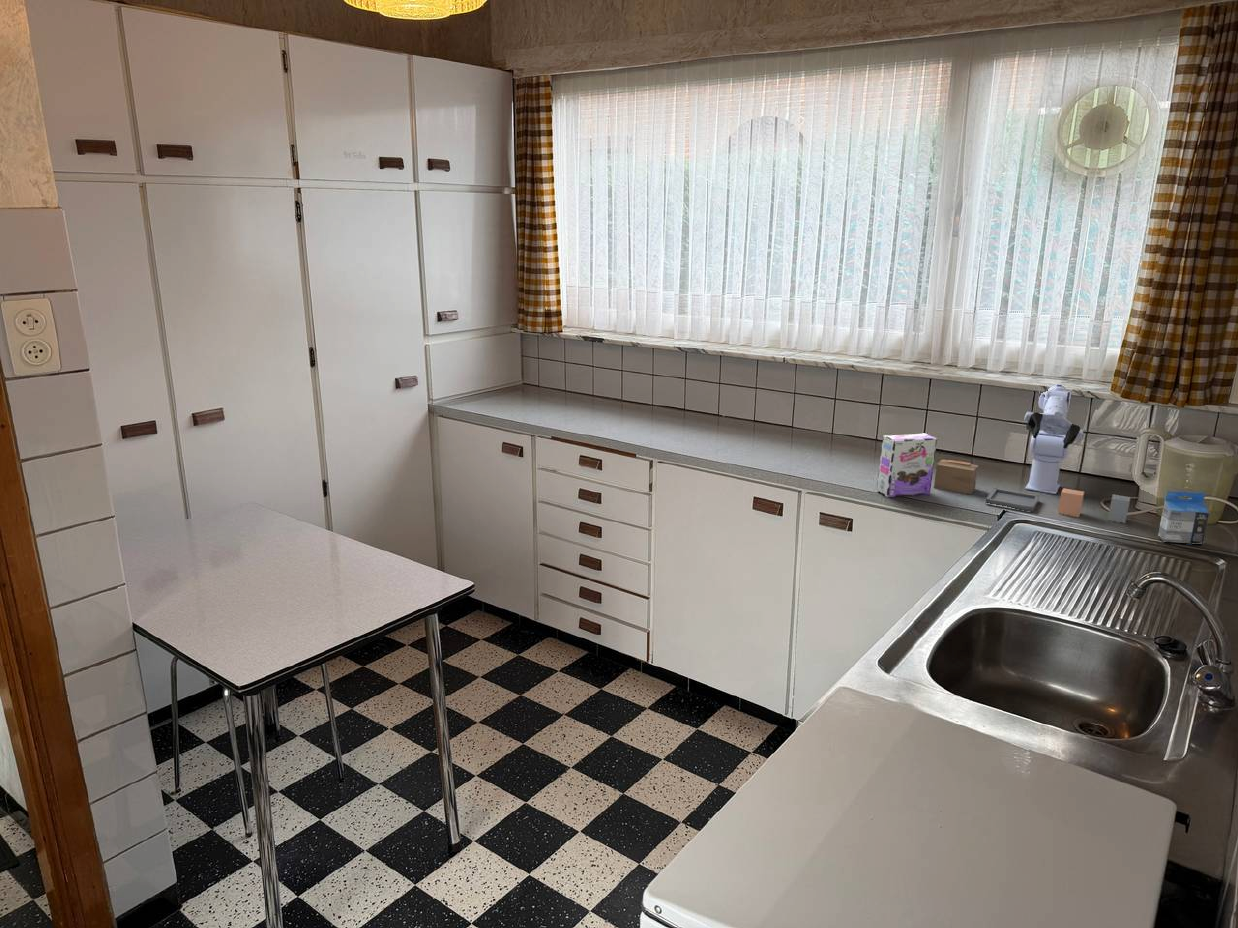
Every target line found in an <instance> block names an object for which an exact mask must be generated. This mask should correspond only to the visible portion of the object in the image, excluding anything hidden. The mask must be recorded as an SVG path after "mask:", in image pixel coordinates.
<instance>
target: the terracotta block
mask: <svg viewBox="0 0 1238 928" xmlns="http://www.w3.org/2000/svg"><path fill="white" fill-rule="evenodd" d="M1084 495H1085V491H1083V490H1077V489H1076V490H1075V489H1070V488H1062V490H1061V494H1060V498H1059V504H1058V510H1057V514H1058V513H1062V514H1061V515H1063V514H1064V516H1068V515H1069V517H1074V518H1080V515H1081V513H1082V506H1083V501H1084Z"/></svg>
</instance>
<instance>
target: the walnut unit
mask: <svg viewBox="0 0 1238 928" xmlns="http://www.w3.org/2000/svg"><path fill="white" fill-rule="evenodd" d="M978 471H979V465H978V464H974V463H973V464H972V463H971V462H964V461H959V460H953V459H948V460H947V459H941V460H940V461H939V462H938V463H937V464H936V468H935V476H934V483H933V488H934V489H938V490H945V491H949V490H950V492H954V493H956V492H957V493H960V492H961V494H967V495H971V494H972V493H973V492H974V490H976V485H977V477H978V473H979V472H978Z"/></svg>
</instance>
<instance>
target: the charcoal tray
mask: <svg viewBox="0 0 1238 928" xmlns="http://www.w3.org/2000/svg"><path fill="white" fill-rule="evenodd" d="M1039 501H1040V495H1038V494H1031V493H1025V492H1020V491H1013V490H1007V489H1003V488H996V487H994V488H993V489H992V490H991V492H990V493H989V494H988V496H987V498H986V499H985V504H986V503H990V504H996V505H1002V506H1007V507H1011V508H1015V509H1019V510H1024V511H1030V512H1032V511H1033V512H1034V510H1035V509H1036V507H1035V506H1037V505H1038V503H1039ZM1036 504H1037V505H1036ZM1034 508H1035V509H1034ZM1024 511H1023V512H1024ZM1033 512H1032V513H1033Z"/></svg>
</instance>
